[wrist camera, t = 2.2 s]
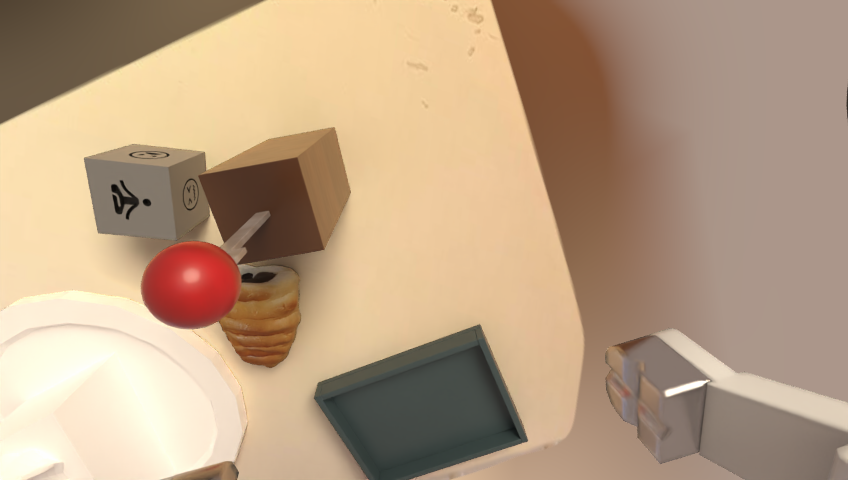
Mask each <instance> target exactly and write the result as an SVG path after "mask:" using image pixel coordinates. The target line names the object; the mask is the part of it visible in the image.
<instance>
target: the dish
mask: <svg viewBox="0 0 848 480" xmlns="http://www.w3.org/2000/svg"><path fill="white" fill-rule="evenodd" d="M247 423H248V420H247V415H246V410H245V404H244V399H243V394H242V388H241V386H240V384H239V383H238V381H237V380H236V378H235V377H234V375H233V374H232V372H231V371H230V369H229V368H228V366H227V365H226V363H225V362H224V360H223V359H222V357H221V356H220V354H219V353H218V351H217V350H215V349H214V348H213V347H212V346H210V345H209V344H208V343H207V342H205V341H204V340H203V339H202V338H200V337H199V336H198V335H197V334H195V333H194V332H193V331H192V330H190V329H179V328H174V327H171V326H168V325H166V324H164V323H162V322H160V321H159V320H157V319H156V318H155V317H154V316H153V315H152V314H151V313H150V312H149V310H148V309H147V307H146V306H145V305H142V304H140V303H138V302H135V301H133V300H131V299H128V298H123V297H116V296H109V295H102V294H95V293H88V292H81V291H74V290H70V291H64V292H57V293H51V294H45V295H38V296H32V297H25V298H21V299H19V300H18V301H16V302H14V303H13V304H11V305H9V306H8V307H6V308H4V309H3V310H1V311H0V480H160V479H164V478H168V477H172V476H175V475H177V474H180V473H184V472H188V471H191V470H195V469H199V468H202V467H206V466H210V465H214V464H217V463H221V462H225V461H232V462H233V464H234V462H235V460H236V457H237V455H238V453H239V450H240V446H241V443H242V440H243V436H244V433H245V430H246V426H247Z"/></svg>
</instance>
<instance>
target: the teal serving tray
mask: <svg viewBox="0 0 848 480" xmlns="http://www.w3.org/2000/svg"><path fill="white" fill-rule="evenodd" d="M314 399H315V400H316V402H317V403H318V405H319V406H320V408H321V409H322V411H323V412H324V414H325V415H326V417H327V418H328V420H329V421H330V423H331V424H332V426H333V427H334V428H335V430H336V431H337V433H338V434H339V436H340V437H341V439H342V440H343V442H344V443H345V445H346V446H347V448H348V449H349V451H350V452H351V454H352V455H353V457H354V458H355V460H356V461H357V463H358V464H359V466H360V467H361V469H362V470H363V472H364V473H365V475H366V476H367V477H368V479H369V480H409V479H412V478H415V477H419V476H422V475H425V474H428V473H431V472H434V471H437V470H440V469H443V468H446V467H450V466H453V465H456V464H459V463H462V462H465V461H468V460H471V459H474V458H477V457H481V456H484V455H487V454H490V453H493V452H496V451H499V450H502V449H505V448H508V447H512V446H515V445H518V444H521V443H524V442H527V441H528V439H527V436H526V433H525V429H524V426H523V424H522V421H521V419H520V417H519V414H518V412H517V410H516V407H515V405H514V403H513V400H512V398H511V396H510V393H509V391H508V389H507V386H506V384H505V381H504V379H503V377H502V374H501V372H500V370H499V367H498V365H497V363H496V360H495V358H494V356H493V353H492V351H491V349H490V346H489V344H488V342H487V339H486V337H485V335H484V332H483V330H482V328H481V325H477V326H474V327H471V328H469V329H466V330H463V331H460V332H457V333H455V334H452V335H449V336H446V337H444V338H441V339H438V340H435V341H433V342H430V343H427V344H424V345H422V346H419V347H416V348H413V349H410V350H408V351H405V352H402V353H399V354H397V355H394V356H391V357H388V358H386V359H383V360H380V361H377V362H375V363H372V364H369V365H366V366H363V367H361V368H358V369H355V370H352V371H350V372H347V373H344V374H341V375H339V376H336V377H333V378H330V379H328V380H325V381H322V382H319V383H318V387H317V390H316V393H315V397H314Z"/></svg>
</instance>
